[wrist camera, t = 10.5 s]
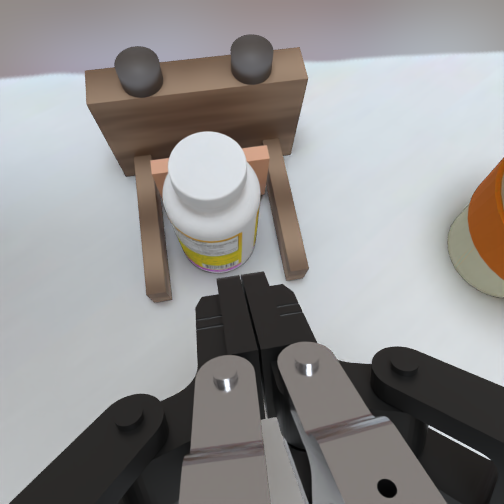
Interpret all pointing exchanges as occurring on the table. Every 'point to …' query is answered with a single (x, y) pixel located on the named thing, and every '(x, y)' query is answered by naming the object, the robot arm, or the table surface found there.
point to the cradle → (202, 129)
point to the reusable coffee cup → (481, 236)
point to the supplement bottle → (212, 201)
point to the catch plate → (254, 157)
